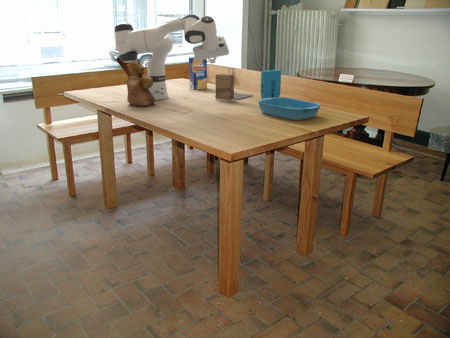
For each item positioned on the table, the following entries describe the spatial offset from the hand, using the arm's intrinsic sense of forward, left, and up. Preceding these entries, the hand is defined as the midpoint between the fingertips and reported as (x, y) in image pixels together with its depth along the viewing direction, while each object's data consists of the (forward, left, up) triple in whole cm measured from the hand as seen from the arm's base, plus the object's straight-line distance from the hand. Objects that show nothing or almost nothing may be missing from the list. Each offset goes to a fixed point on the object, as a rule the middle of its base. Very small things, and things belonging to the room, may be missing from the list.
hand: (212, 62), depth 267 cm
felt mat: (+28, +4, -25) cm, 38 cm away
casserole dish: (+2, -51, -25) cm, 57 cm away
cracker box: (+39, +44, -25) cm, 64 cm away
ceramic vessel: (-28, +36, -25) cm, 52 cm away
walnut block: (+15, +2, -25) cm, 29 cm away
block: (+21, -28, -25) cm, 43 cm away
